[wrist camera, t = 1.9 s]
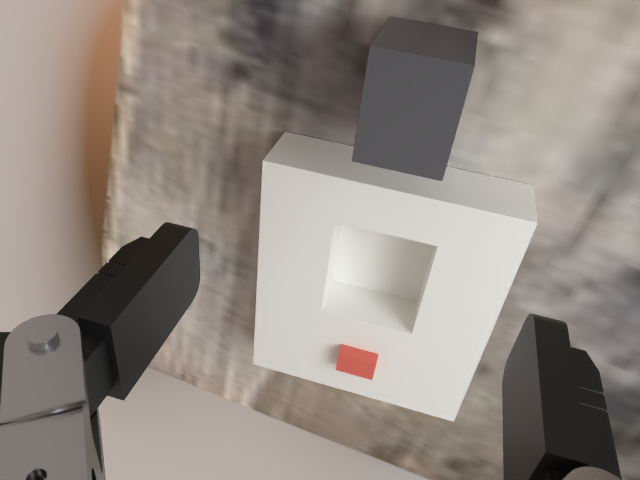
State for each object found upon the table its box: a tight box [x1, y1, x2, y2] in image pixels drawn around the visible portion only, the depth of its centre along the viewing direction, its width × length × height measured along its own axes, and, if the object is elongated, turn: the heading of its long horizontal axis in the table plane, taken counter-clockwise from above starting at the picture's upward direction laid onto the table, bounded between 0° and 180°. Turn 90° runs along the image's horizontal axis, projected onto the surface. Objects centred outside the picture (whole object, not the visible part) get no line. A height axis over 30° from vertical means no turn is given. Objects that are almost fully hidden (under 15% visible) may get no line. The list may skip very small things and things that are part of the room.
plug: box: [352, 16, 478, 181], centre depth 24 cm, size 5×4×6 cm
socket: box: [253, 132, 538, 422], centre depth 33 cm, size 16×14×5 cm
